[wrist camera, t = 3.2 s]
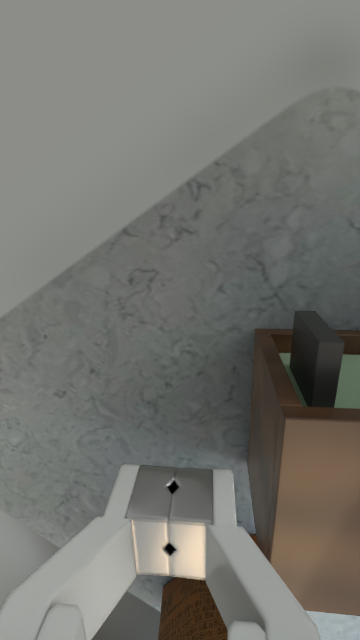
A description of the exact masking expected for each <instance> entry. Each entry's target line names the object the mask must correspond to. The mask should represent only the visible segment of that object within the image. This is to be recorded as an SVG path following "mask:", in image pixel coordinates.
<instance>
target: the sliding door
mask: <svg viewBox="0 0 360 640" xmlns="http://www.w3.org/2000/svg"><path fill="white" fill-rule="evenodd" d="M344 344H345V343H344V342H343V341H342V340H341V338H340V337H339V336H338V335H337V334H336V333H335V332H334V331H333V330H332V329H331V328H330V327H329V326H328V325H327V324H326V323H325V322H324V321H323V320H322V318H321V317H320V316H319V315H318V314H317V313H316V312H315V311H295V316H294V326H293V336H292V346H291V353H279V355H280V357H281V359H282V362H283V364H284V366H285V369H286V371H287V373H288V375H289V378H290V380H291V382H292V385H293V387H294V389H295V392H296V394H297V396H298V398H299V401H300V403H301V405H302V406H304V407H330V408H355V409H360V355H348V354H343V351H344Z"/></svg>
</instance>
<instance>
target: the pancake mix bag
mask: <svg viewBox="0 0 360 640" xmlns="http://www.w3.org/2000/svg"><path fill="white" fill-rule="evenodd" d="M249 536H250V537H251V538H252V540H253V541H254V542H255V544H256V545H257V537H256V535H249ZM257 546H258V545H257ZM227 634H228V629H227V627H226V625H225V623H224V621H223V619H222V616H221V614H220V612H219V610H218V608H217V606H216V603H215V601H214V599H213V597H212V595H211V592H210V590H209V588H208V586H207V584H206V580H198V579H189V578H181V577H175V578H173V579H172V580H171V581H169V582H168V583H167V584H166V585H164V586H163V596H162V606H161V618H160V626H159V636H158V640H227Z"/></svg>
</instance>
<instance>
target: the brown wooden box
mask: <svg viewBox="0 0 360 640" xmlns="http://www.w3.org/2000/svg"><path fill="white" fill-rule="evenodd" d="M333 331H334V332H335V333H336V334H337V335H338V336H339V337H340V338H341V340H342V341H343V342H344V343H345V344H344V351H343V354H348V355H360V331H352V330H333ZM292 336H293V330H287V329H255V342H254V358H253V375H252V392H251V408H250V425H249V442H248V458H247V466H248V474H249V482H250V490H251V498H252V506H253V514H254V521H255V529H256V537H257V545H258V548H259V549H260V550H261V552H262V553H263V554H264V556H265V557H266V559H267V560H268V561H269V563H270V564H271V565H272V567H273V568H274V569H275V571H276V572H277V573H278V575H279V576H280V578H281V579H282V580H283V582H284V583H285V584H286V586H287V587H288V588H289V590H290V591H291V592H292V594H293V595H294V596H295V598H296V599H297V601H298V602H299V603H300V605H301V606H302V607H303V609H304V610H307V611H316V612H326V613H336V614H346V615H356V616H360V409H355V408H330V407H304V406H302V405H301V403H300V401H299V398H298V396H297V394H296V392H295V389H294V387H293V385H292V382H291V380H290V378H289V375H288V373H287V371H286V369H285V366H284V364H283V362H282V359H281V357H280V355H279V353H291V346H292Z"/></svg>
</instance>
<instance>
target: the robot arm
mask: <svg viewBox="0 0 360 640" xmlns="http://www.w3.org/2000/svg"><path fill="white" fill-rule="evenodd" d="M136 574H138V575H157V576H173V577H181V578H189V579H198V580H206V584H207V586H208V588H209V590H210V592H211V595H212V597H213V599H214V601H215V603H216V606H217V608H218V610H219V612H220V614H221V616H222V619H223V621H224V623H225V625H226V627H227V629H228V634H227V640H320V636H319V632H318V628H317V626H316V625H315V624H314V622H313V621H312V619H311V618H310V617H309V615H308V614H307V613H306V611H305V610H304V609H303V607H302V606H301V605H300V603H299V602H298V601H297V599H296V598H295V596H294V595H293V594H292V592H291V591H290V590H289V588H288V587H287V586H286V584H285V583H284V582H283V580H282V579H281V578H280V576H279V575H278V573H277V572H276V571H275V569H274V568H273V567H272V565H271V564H270V563H269V561H268V560H267V559H266V557H265V556H264V554H263V553H262V552H261V550H260V549H259V548H258V546H257V545H256V544H255V542H254V541H253V540H252V538H251V537H250V536H249V534H248V533H247V531H246V530H245V529H244V527H238V526H237V519H236V506H235V494H234V481H233V472H232V470H225V469H213V470H212V469H199V468H173V467H161V466H149V465H131V464H123V465H122V466H121V467H120V469H119V472H118V474H117V477H116V480H115V483H114V486H113V488H112V491H111V494H110V497H109V500H108V502H107V505H106V508H105V511H104V514H103V516H102V517H96V518H94V519H93V520H92V521H91V522H90V523H89V524H88V525H87V526H85V527H84V528H83V529H82V530H81V531H80V532H79V533H77V534H76V535H75V536H74V537H73V538H72V539H71V540H70V541H68V542H67V543H66V544H65V545H64V546H63V547H62V548H60V549H59V550H58V551H57V552H56V553H55V554H54V555H53V556H51V557H50V558H49V559H48V560H47V561H46V562H45V563H43V564H42V565H41V566H40V567H39V568H38V569H37V570H35V571H34V572H33V573H32V574H31V575H30V576H29V577H28V578H26V579H25V580H24V581H23V582H22V583H21V584H20V585H18V586H17V587H16V588H15V589H14V590H13V591H12V592H11V593H9V594H8V595H7V597H6V599H5V600H4V602H3V604H2V606H1V608H0V640H91V639H92V638H93V636H94V635H95V634H96V632H97V631H98V630H99V628H100V627H101V625H102V624H103V623H104V621H105V620H106V619H107V617H108V616H109V614H110V613H111V612H112V610H113V609H114V607H115V606H116V605H117V603H118V602H119V601H120V599H121V598H122V596H123V595H124V594H125V592H126V591H127V589H128V588H129V587H130V585H131V584H132V582H133V581H134V580H135V578H136Z"/></svg>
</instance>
